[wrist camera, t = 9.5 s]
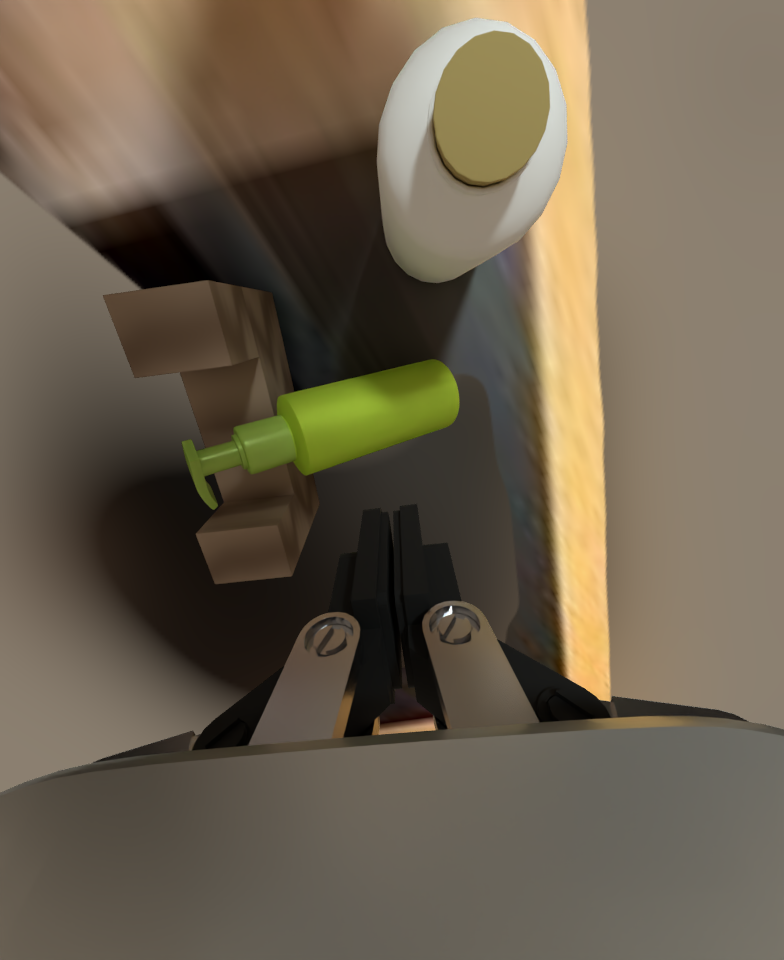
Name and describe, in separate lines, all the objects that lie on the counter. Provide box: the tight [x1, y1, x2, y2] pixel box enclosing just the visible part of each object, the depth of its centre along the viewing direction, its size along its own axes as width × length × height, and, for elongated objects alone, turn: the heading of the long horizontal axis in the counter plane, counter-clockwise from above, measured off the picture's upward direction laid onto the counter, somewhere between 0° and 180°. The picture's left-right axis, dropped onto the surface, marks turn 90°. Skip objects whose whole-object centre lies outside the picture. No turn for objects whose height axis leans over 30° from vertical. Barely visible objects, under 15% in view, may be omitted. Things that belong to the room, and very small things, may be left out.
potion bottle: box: [377, 18, 567, 283], centre depth 21 cm, size 8×8×18 cm
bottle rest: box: [103, 280, 319, 584], centre depth 30 cm, size 20×6×12 cm, turn 7°
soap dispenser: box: [182, 359, 459, 510], centre depth 28 cm, size 6×7×20 cm
